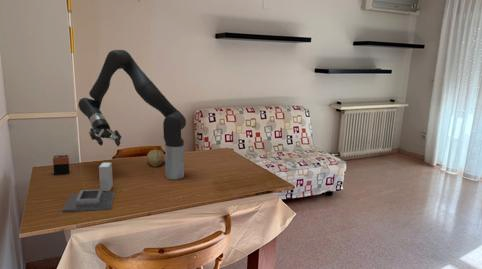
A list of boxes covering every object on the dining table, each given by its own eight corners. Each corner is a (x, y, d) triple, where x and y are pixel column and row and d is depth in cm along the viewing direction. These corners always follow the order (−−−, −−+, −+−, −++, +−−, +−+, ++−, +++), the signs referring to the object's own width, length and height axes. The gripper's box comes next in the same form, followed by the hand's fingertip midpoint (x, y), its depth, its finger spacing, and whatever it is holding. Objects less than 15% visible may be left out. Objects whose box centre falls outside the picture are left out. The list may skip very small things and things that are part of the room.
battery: (69, 174, 176) (67, 155, 174) (54, 175, 173) (52, 156, 171) (69, 171, 180) (68, 153, 178) (55, 172, 177) (53, 153, 175)
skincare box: (103, 186, 163) (102, 162, 160) (113, 186, 163) (112, 162, 161) (99, 191, 157) (98, 166, 154) (109, 191, 158) (108, 166, 155)
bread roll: (162, 159, 207) (162, 146, 206) (165, 167, 194) (165, 153, 192) (146, 160, 204) (146, 147, 202) (148, 168, 191) (148, 154, 189)
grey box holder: (114, 193, 156) (114, 186, 155) (110, 209, 141) (110, 201, 140) (70, 195, 151) (70, 188, 150) (62, 212, 136) (61, 204, 135)
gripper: (87, 116, 167) (98, 137, 158) (115, 119, 177) (127, 139, 168) (82, 128, 170) (93, 150, 161) (110, 130, 180) (121, 150, 171)
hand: (110, 144), depth 165 cm, fingers open, 8 cm apart
